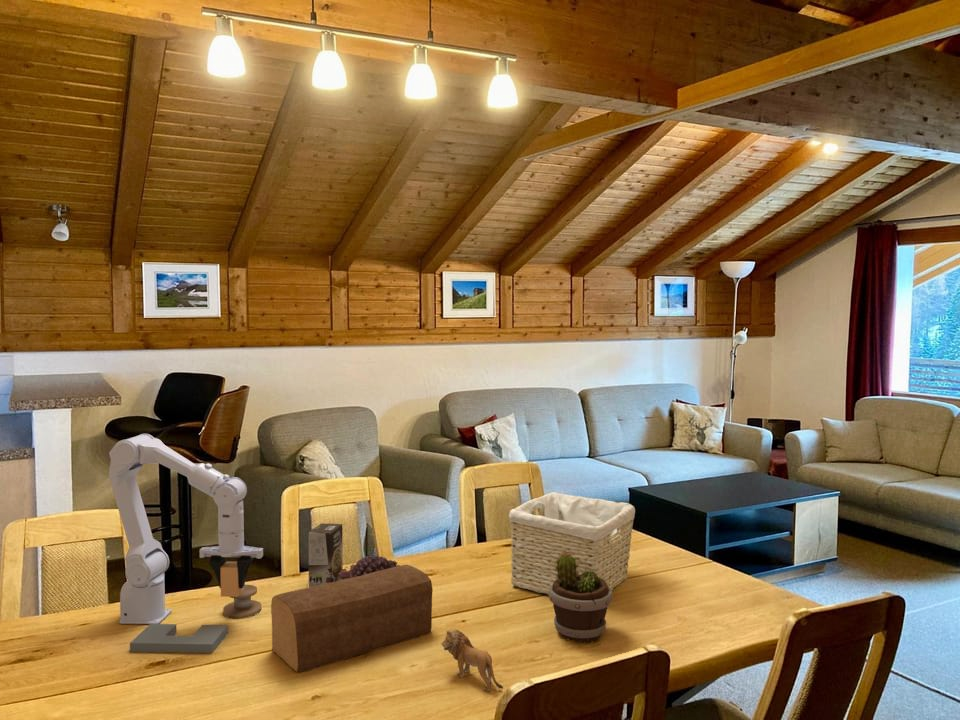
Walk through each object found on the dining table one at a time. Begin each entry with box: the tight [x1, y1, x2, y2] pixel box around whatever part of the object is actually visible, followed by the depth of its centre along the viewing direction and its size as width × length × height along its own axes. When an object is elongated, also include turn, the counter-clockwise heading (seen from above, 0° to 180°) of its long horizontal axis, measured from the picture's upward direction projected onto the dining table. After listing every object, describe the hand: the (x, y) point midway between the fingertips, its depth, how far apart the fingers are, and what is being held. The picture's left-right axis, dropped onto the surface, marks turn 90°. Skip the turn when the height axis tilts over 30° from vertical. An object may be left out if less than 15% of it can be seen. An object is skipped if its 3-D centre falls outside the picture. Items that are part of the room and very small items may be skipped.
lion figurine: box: [441, 628, 504, 692], centre depth 155 cm, size 15×5×9 cm, turn 53°
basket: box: [508, 491, 636, 595], centre depth 209 cm, size 27×27×22 cm
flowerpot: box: [548, 548, 613, 643], centre depth 177 cm, size 14×15×20 cm
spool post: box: [222, 584, 262, 619], centre depth 189 cm, size 9×9×5 cm
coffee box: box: [308, 522, 344, 588], centre depth 205 cm, size 9×6×16 cm
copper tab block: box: [220, 561, 243, 598], centre depth 182 cm, size 4×4×7 cm
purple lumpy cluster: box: [337, 554, 401, 580], centre depth 201 cm, size 18×10×10 cm, turn 109°
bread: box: [270, 564, 434, 673], centre depth 172 cm, size 14×34×14 cm, turn 127°
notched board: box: [129, 623, 229, 654], centre depth 171 cm, size 18×10×2 cm, turn 89°
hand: (232, 586), depth 182 cm, fingers closed on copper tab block, 4 cm apart
